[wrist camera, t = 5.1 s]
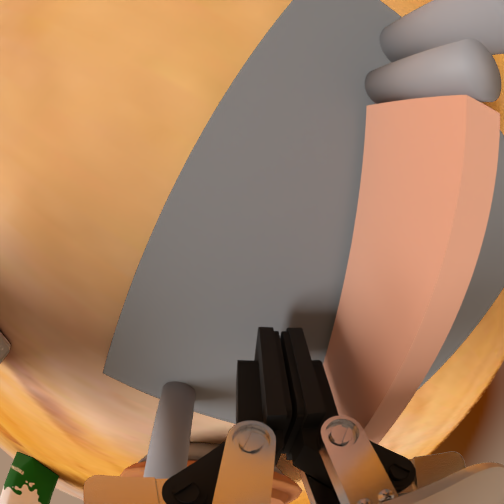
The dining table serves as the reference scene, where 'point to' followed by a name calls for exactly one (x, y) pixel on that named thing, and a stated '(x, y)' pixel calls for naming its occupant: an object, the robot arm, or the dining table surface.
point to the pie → (281, 486)
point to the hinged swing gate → (279, 211)
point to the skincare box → (3, 347)
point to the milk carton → (28, 482)
